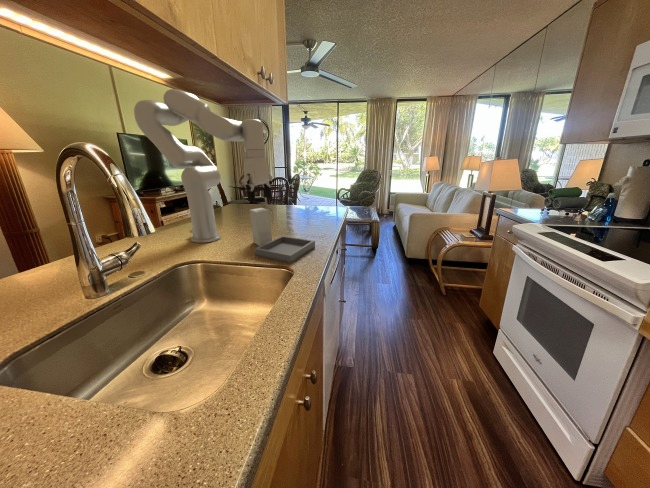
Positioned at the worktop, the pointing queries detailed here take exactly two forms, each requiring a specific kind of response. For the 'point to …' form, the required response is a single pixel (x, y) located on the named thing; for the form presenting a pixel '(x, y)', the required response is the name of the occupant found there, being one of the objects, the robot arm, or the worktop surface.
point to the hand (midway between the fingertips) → (259, 199)
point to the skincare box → (260, 226)
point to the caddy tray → (285, 249)
